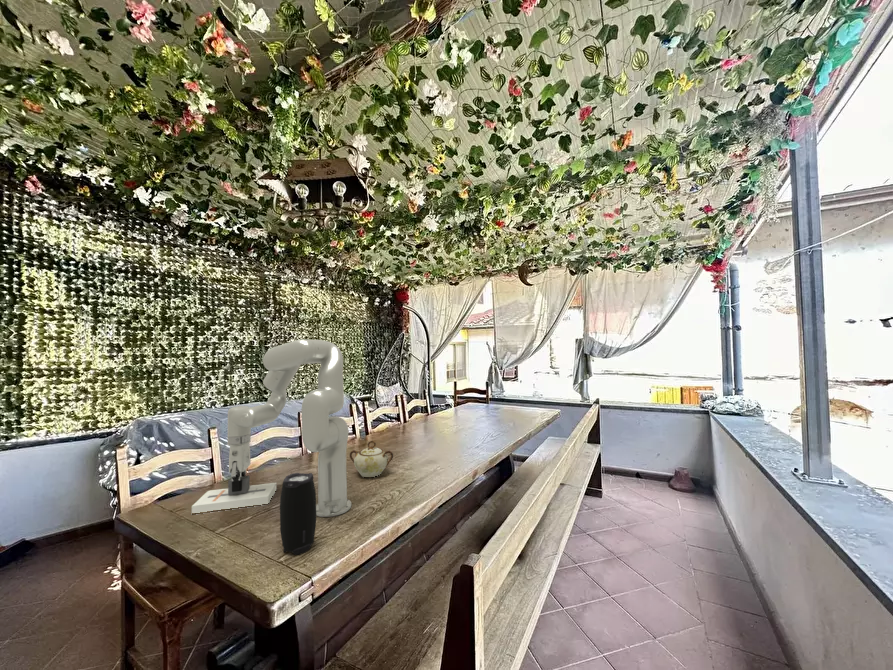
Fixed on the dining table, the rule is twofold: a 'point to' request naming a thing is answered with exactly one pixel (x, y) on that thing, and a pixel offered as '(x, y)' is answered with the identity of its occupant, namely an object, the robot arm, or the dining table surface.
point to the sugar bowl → (371, 460)
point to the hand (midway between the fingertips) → (239, 488)
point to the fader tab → (244, 485)
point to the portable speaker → (298, 512)
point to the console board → (234, 498)
